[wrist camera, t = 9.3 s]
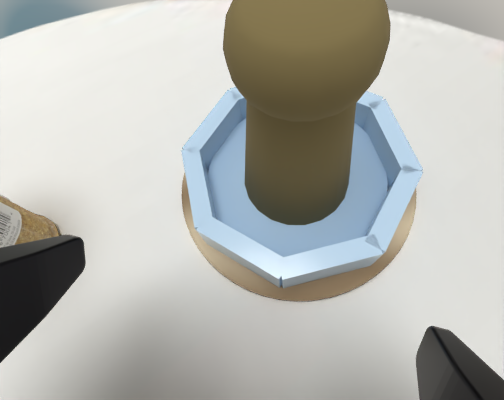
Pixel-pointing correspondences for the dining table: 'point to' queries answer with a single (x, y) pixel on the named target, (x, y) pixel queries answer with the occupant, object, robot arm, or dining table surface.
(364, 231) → the bowl
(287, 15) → the cork
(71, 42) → the dining table surface
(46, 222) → the sprinkles bottle
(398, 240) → the placemat
